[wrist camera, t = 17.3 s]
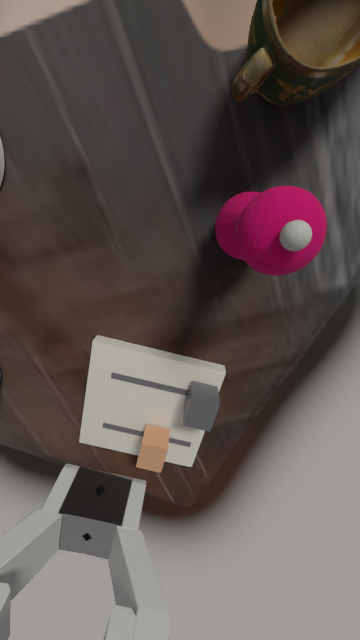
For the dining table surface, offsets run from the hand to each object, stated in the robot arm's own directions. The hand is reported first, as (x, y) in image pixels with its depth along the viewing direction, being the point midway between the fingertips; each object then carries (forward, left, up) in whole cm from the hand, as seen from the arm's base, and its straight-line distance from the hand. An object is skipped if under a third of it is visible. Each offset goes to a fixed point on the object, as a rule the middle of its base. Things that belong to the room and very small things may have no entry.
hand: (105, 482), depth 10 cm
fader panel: (+1, -20, -29) cm, 35 cm away
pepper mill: (+7, +10, -29) cm, 32 cm away
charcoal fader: (+8, -15, -27) cm, 32 cm away
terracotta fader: (+3, -25, -27) cm, 37 cm away
